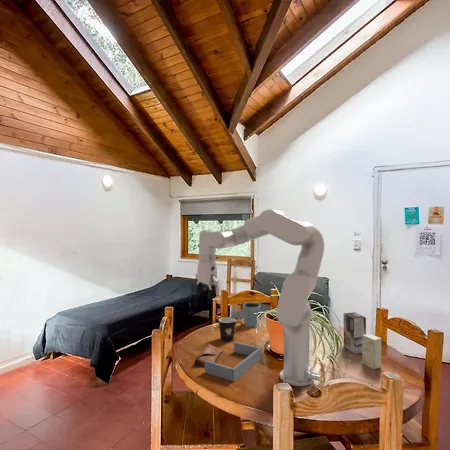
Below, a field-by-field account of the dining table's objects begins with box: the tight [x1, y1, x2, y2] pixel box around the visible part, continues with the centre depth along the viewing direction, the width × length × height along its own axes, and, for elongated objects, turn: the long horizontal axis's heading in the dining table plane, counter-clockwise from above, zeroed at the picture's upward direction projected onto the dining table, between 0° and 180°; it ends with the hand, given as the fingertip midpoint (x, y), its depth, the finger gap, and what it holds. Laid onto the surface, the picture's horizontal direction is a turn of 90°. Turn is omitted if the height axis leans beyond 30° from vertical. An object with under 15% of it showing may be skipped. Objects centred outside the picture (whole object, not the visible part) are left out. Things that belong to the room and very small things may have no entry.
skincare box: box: [361, 333, 382, 370], centre depth 129 cm, size 6×4×12 cm
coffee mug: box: [218, 316, 243, 343], centre depth 158 cm, size 12×9×10 cm
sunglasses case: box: [194, 343, 224, 368], centre depth 136 cm, size 18×7×7 cm
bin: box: [204, 341, 263, 382], centre depth 129 cm, size 14×24×4 cm, turn 148°
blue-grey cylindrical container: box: [242, 301, 261, 328], centre depth 180 cm, size 10×10×12 cm
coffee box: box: [343, 311, 367, 354], centre depth 145 cm, size 9×6×16 cm
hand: (205, 296), depth 138 cm, fingers open, 9 cm apart
